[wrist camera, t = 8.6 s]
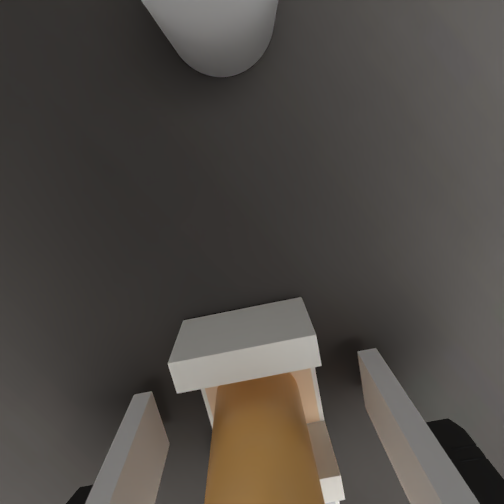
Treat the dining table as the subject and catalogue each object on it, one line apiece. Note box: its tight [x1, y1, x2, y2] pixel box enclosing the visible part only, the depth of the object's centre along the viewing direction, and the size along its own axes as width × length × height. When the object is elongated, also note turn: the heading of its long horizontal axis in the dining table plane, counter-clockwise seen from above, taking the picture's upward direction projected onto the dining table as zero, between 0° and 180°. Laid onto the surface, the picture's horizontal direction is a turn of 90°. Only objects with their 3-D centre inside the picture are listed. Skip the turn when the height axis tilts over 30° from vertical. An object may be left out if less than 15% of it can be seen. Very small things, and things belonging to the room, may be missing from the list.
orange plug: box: [204, 372, 325, 504], centre depth 12 cm, size 4×4×8 cm
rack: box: [168, 297, 345, 504], centre depth 15 cm, size 13×5×3 cm, turn 12°
